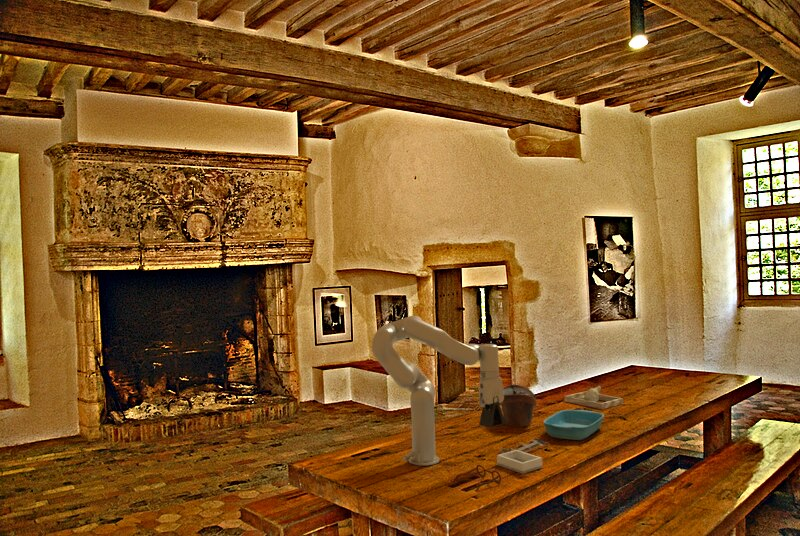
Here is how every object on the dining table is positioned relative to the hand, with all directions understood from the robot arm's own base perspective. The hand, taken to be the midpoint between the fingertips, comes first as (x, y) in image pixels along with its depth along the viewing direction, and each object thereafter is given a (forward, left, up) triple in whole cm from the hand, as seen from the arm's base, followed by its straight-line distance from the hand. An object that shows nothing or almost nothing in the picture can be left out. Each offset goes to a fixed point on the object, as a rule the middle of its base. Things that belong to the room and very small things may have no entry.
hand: (492, 419), depth 284 cm
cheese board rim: (+115, +39, -18) cm, 122 cm away
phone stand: (0, 0, -2) cm, 2 cm away
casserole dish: (+61, +8, -18) cm, 64 cm away
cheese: (+115, +41, -18) cm, 124 cm away
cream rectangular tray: (+5, -11, -18) cm, 21 cm away
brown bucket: (+52, +35, -18) cm, 65 cm away
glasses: (-21, -14, -18) cm, 31 cm away
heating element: (+22, +3, -18) cm, 29 cm away
